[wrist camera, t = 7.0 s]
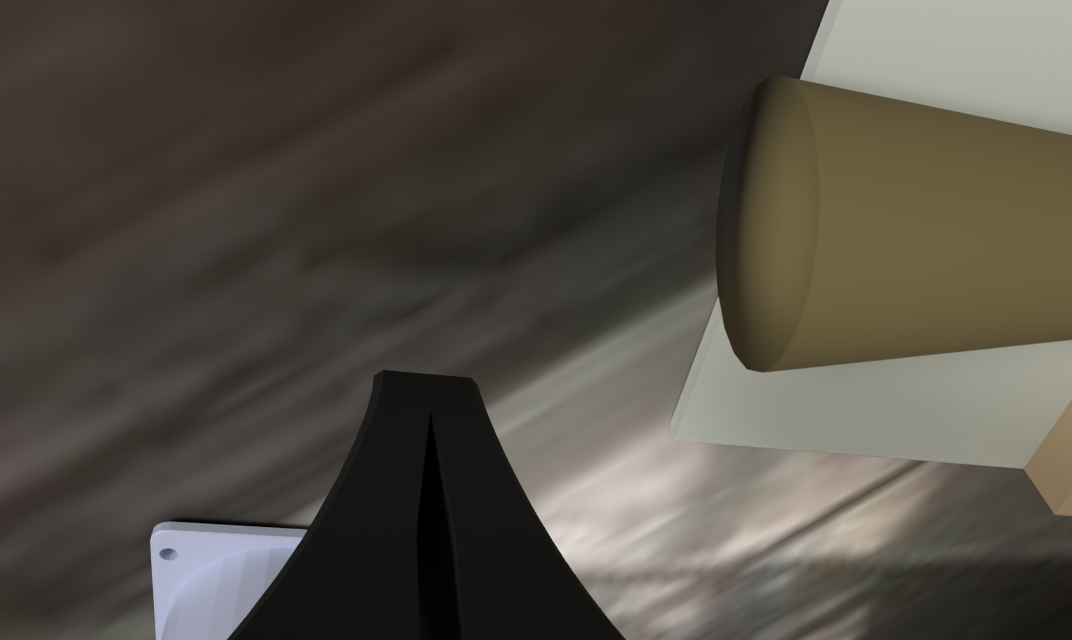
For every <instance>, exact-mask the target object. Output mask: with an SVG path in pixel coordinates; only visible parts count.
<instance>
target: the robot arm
mask: <svg viewBox="0 0 1072 640" xmlns="http://www.w3.org/2000/svg"><path fill="white" fill-rule="evenodd" d="M150 544H151V561H152V578H153V595H154V612H155V629H156V640H626V639H625V638H624V637H623V636H622V635H621V633H620V632H619V631H618V630H617V629H616V628H615V626H614V625H613V624H612V623H611V622H610V620H609V619H608V618H607V616H606V615H605V614H604V613H603V611H602V610H601V609H600V607H599V606H598V605H597V604H596V602H595V601H594V600H593V598H592V597H591V596H590V595H589V593H588V592H587V590H586V589H585V588H584V586H583V585H582V583H581V582H580V581H579V579H578V578H577V577H576V575H575V574H574V572H573V571H572V570H571V568H570V567H569V565H568V564H567V562H566V561H565V559H564V558H563V556H562V555H561V553H560V552H559V550H558V548H557V547H556V545H555V544H554V542H553V541H552V539H551V537H550V536H549V534H548V532H547V531H546V529H545V527H544V526H543V524H542V522H541V521H540V519H539V517H538V516H537V514H536V512H535V510H534V509H533V507H532V505H531V503H530V502H529V500H528V498H527V496H526V494H525V492H524V490H523V488H522V487H521V485H520V483H519V481H518V479H517V477H516V475H515V473H514V471H513V469H512V467H511V465H510V463H509V461H508V459H507V457H506V455H505V453H504V451H503V449H502V446H501V444H500V442H499V440H498V437H497V435H496V433H495V431H494V428H493V426H492V424H491V421H490V419H489V416H488V414H487V411H486V409H485V406H484V403H483V400H482V397H481V395H480V391H479V388H478V385H477V384H476V383H475V382H474V381H473V379H472V378H466V377H455V376H444V375H433V374H422V373H411V372H400V371H389V370H383V371H381V372H379V373H378V374H376V375H374V380H373V388H372V393H371V397H370V401H369V405H368V408H367V411H366V414H365V417H364V420H363V422H362V425H361V427H360V430H359V432H358V435H357V437H356V440H355V442H354V444H353V446H352V448H351V450H350V453H349V455H348V457H347V459H346V461H345V463H344V465H343V467H342V470H341V472H340V474H339V476H338V478H337V480H336V481H335V483H334V485H333V487H332V489H331V490H330V492H329V494H328V496H327V497H326V499H325V501H324V503H323V505H322V506H321V508H320V510H319V512H318V513H317V515H316V517H315V519H314V520H313V522H312V524H311V525H310V527H309V529H308V530H306V529H289V528H272V527H255V526H238V525H221V524H204V523H187V522H163V523H160V524H158V525H157V526H155V527H154V529H153V533H152V536H151V540H150ZM167 548H169V549H167ZM171 549H173V550H171Z"/></svg>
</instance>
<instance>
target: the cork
mask: <svg viewBox="0 0 1072 640" xmlns="http://www.w3.org/2000/svg"><path fill="white" fill-rule="evenodd" d="M716 269H717V285H718V297H719V302H720V307H721V313H722V318H723V324H724V328H725V331H726V334H727V336H728V339H729V342H730V344H731V347H732V350H733V352H734V354H735V355H736V357H737V358H738V359H739V360H740V362H741V363H742V364H743V365H744V366H745V368H746V369H747V370H752V371H756V372H761V373H765V372H775V371H784V370H794V369H803V368H813V367H822V366H831V365H841V364H850V363H860V362H869V361H879V360H888V359H897V358H907V357H916V356H926V355H935V354H945V353H954V352H963V351H973V350H982V349H992V348H1001V347H1011V346H1020V345H1030V344H1039V343H1048V342H1058V341H1067V340H1072V135H1069V134H1064V133H1059V132H1054V131H1049V130H1044V129H1039V128H1035V127H1030V126H1025V125H1020V124H1015V123H1010V122H1005V121H1000V120H995V119H990V118H986V117H981V116H976V115H971V114H966V113H961V112H956V111H951V110H946V109H941V108H936V107H932V106H927V105H922V104H917V103H912V102H907V101H902V100H897V99H892V98H887V97H883V96H878V95H873V94H868V93H863V92H858V91H853V90H848V89H843V88H838V87H833V86H829V85H824V84H819V83H814V82H809V81H804V80H799V79H794V78H789V77H784V76H780V75H775V74H774V75H772V76H771V77H769V78H768V79H766V80H765V81H763V82H762V83H760V84H759V85H757V87H756V88H755V90H754V92H753V93H752V95H751V96H750V98H749V99H748V101H747V102H746V104H745V106H744V107H743V109H742V112H741V115H740V117H739V120H738V122H737V125H736V128H735V130H734V133H733V136H732V138H731V142H730V146H729V150H728V155H727V159H726V163H725V167H724V171H723V176H722V183H721V191H720V198H719V206H718V214H717V235H716Z"/></svg>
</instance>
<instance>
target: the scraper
mask: <svg viewBox="0 0 1072 640" xmlns="http://www.w3.org/2000/svg"><path fill="white" fill-rule="evenodd" d="M800 80H804V81H809V82H814V83H819V84H824V85H829V86H833V87H838V88H843V89H848V90H853V91H858V92H863V93H868V94H873V95H878V96H883V97H887V98H892V99H897V100H902V101H907V102H912V103H917V104H922V105H927V106H932V107H936V108H941V109H946V110H951V111H956V112H961V113H966V114H971V115H976V116H981V117H986V118H990V119H995V120H1000V121H1005V122H1010V123H1015V124H1020V125H1025V126H1030V127H1035V128H1039V129H1044V130H1049V131H1054V132H1059V133H1064V134H1069V135H1072V0H829V3H828V6H827V8H826V11H825V14H824V16H823V19H822V21H821V24H820V27H819V29H818V32H817V35H816V37H815V40H814V43H813V45H812V48H811V51H810V53H809V56H808V59H807V61H806V64H805V67H804V69H803V72H802V75H801V77H800ZM670 429H671V432H672V435H673V439H674V440H677V441H689V442H701V443H713V444H726V445H738V446H750V447H762V448H775V449H787V450H799V451H811V452H824V453H836V454H848V455H860V456H873V457H885V458H897V459H909V460H922V461H934V462H946V463H958V464H971V465H983V466H995V467H1007V468H1020V469H1024V470H1025V472H1026V473H1027V475H1028V476H1029V478H1030V479H1031V481H1032V482H1033V483H1034V485H1035V486H1036V488H1037V489H1038V491H1039V492H1040V494H1041V495H1042V497H1043V498H1044V500H1045V501H1046V502H1047V504H1048V505H1049V507H1050V508H1051V510H1052V511H1053V513H1054V514H1055V515H1066V516H1072V340H1067V341H1058V342H1048V343H1039V344H1030V345H1020V346H1011V347H1001V348H992V349H982V350H973V351H963V352H954V353H945V354H935V355H926V356H916V357H907V358H897V359H888V360H879V361H869V362H860V363H850V364H841V365H831V366H822V367H813V368H803V369H794V370H784V371H775V372H765V373H761V372H756V371H752V370H747V369H746V368H745V366H744V365H743V364H742V363H741V362H740V360H739V359H738V358H737V357H736V355H735V354H734V352H733V350H732V347H731V344H730V342H729V339H728V336H727V334H726V331H725V328H724V324H723V318H722V313H721V307H720V302H719V297H718V298H717V301H716V303H715V306H714V309H713V311H712V314H711V317H710V319H709V322H708V325H707V327H706V330H705V333H704V335H703V338H702V340H701V343H700V346H699V348H698V351H697V354H696V356H695V359H694V362H693V364H692V367H691V370H690V372H689V375H688V378H687V380H686V383H685V386H684V388H683V391H682V394H681V396H680V399H679V402H678V404H677V407H676V410H675V412H674V415H673V418H672V420H671V423H670Z"/></svg>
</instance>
